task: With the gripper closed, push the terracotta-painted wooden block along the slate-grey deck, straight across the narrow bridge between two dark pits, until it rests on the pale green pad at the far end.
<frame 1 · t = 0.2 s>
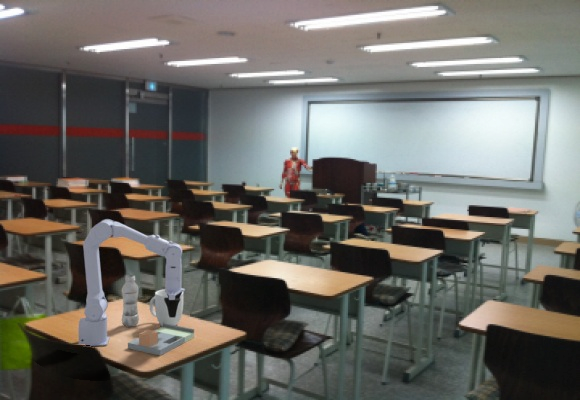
hand: (173, 313, 195), 10 cm above the table, tool pointing down, fingers open, 7 cm apart
deck: (162, 342, 194), on the table
mug: (166, 324, 214), on the table
plastic bottle: (130, 326, 211), on the table
block: (148, 343, 187), point 2 cm above the table, touching deck
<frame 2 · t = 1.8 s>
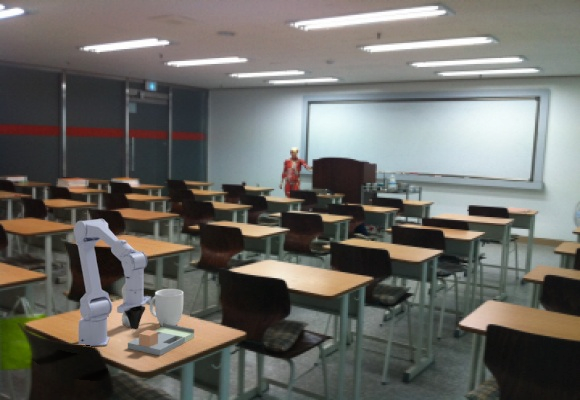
hand: (134, 328, 179), 10 cm above the table, tool pointing down, fingers closed
nothing on the table moved.
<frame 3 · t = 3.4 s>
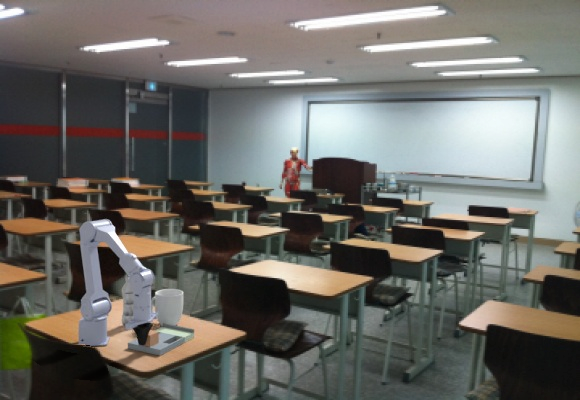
hand: (142, 344, 183), 3 cm above the table, tool pointing down, fingers closed
block: (149, 343, 187), point 2 cm above the table, touching gripper
everything else where it was.
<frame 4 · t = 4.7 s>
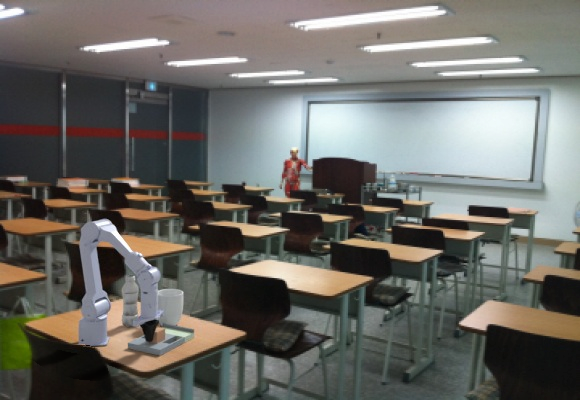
hand: (149, 341, 187), 3 cm above the table, tool pointing down, fingers closed
block: (156, 340, 190), point 2 cm above the table, touching deck, gripper
everything else where it was.
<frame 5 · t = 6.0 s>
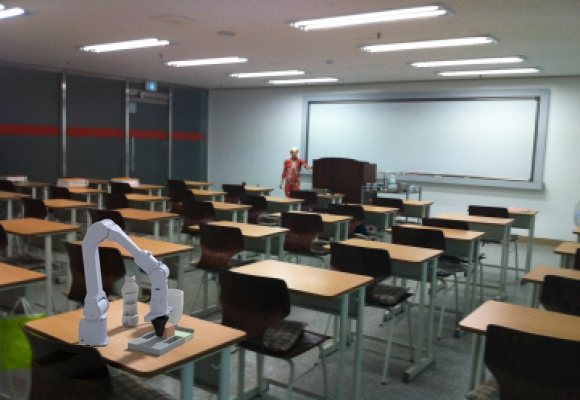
hand: (159, 336, 192), 3 cm above the table, tool pointing down, fingers closed
block: (165, 335, 195), point 2 cm above the table, touching gripper
everything else where it was.
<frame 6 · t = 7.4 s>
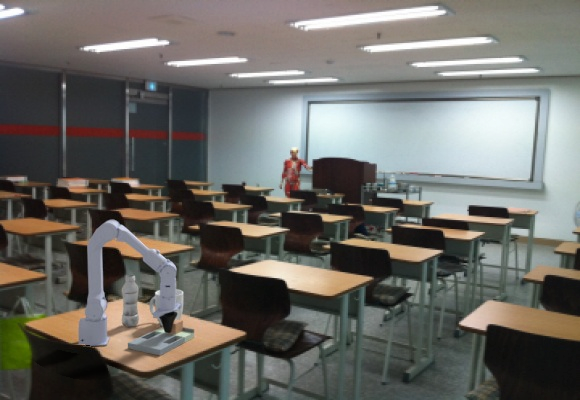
hand: (167, 332, 196), 3 cm above the table, tool pointing down, fingers closed
block: (174, 331, 200), point 2 cm above the table, touching deck, gripper
everything else where it was.
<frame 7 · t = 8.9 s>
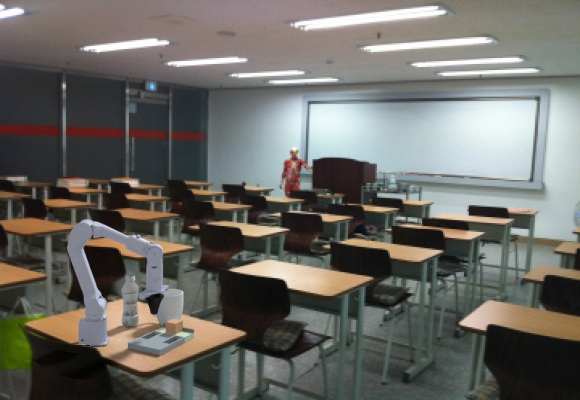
hand: (154, 314, 195), 10 cm above the table, tool pointing down, fingers closed
block: (174, 331, 200), point 2 cm above the table, touching deck
everything else where it was.
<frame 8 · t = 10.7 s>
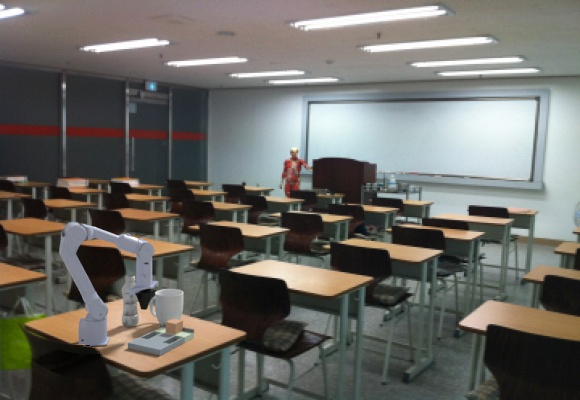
hand: (144, 309, 200), 10 cm above the table, tool pointing down, fingers closed
nothing on the table moved.
at the end: block inside the target area (0.4 cm from its centre), point 2.0 cm above the table; block tilted 0° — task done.
